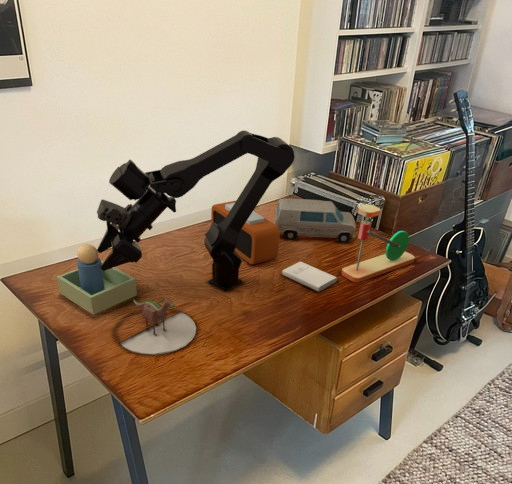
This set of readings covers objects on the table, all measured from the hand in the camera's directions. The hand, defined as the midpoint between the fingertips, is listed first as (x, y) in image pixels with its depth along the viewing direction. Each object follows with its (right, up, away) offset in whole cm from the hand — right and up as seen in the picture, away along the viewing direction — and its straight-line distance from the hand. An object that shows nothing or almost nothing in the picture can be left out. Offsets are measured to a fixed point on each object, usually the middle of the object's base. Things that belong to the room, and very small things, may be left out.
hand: (100, 260), depth 123 cm
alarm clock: (+33, +9, +32) cm, 47 cm away
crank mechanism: (+71, +2, +27) cm, 76 cm away
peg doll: (-3, -8, +4) cm, 9 cm away
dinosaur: (+14, -17, -5) cm, 22 cm away
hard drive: (+51, -2, +19) cm, 54 cm away
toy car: (+54, +14, +42) cm, 70 cm away
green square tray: (-2, -8, +5) cm, 10 cm away
